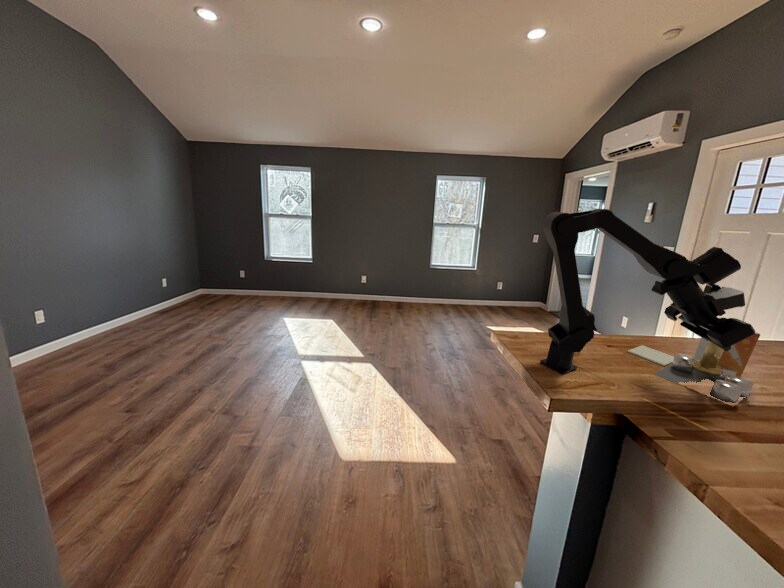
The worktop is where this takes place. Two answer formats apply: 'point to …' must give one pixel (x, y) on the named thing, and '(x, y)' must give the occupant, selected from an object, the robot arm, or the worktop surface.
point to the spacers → (717, 380)
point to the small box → (733, 353)
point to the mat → (680, 375)
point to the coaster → (652, 355)
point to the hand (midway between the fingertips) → (722, 346)
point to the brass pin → (709, 360)
